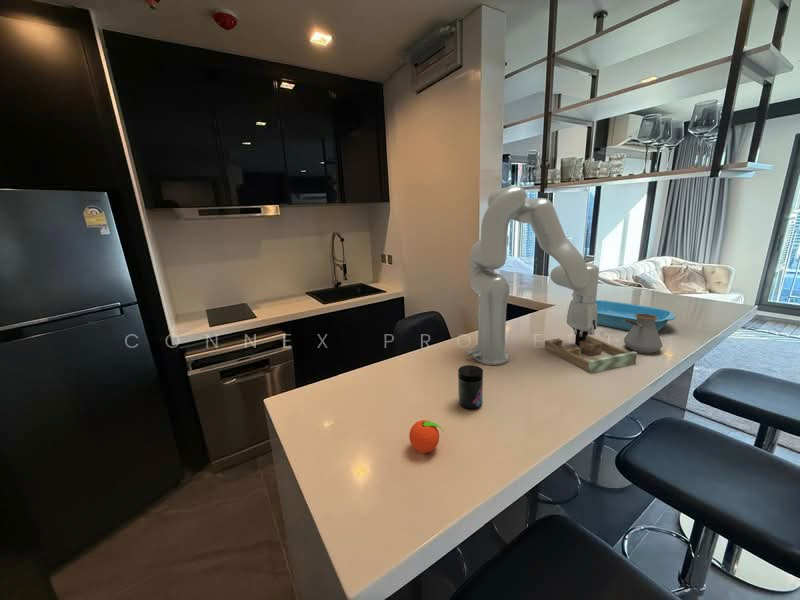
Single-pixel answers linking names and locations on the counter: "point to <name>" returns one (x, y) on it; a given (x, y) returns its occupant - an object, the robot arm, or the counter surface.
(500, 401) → the counter surface
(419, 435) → the clementine
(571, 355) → the trap box
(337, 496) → the counter surface
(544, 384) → the counter surface
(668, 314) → the casserole dish
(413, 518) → the counter surface
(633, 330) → the coffee pot
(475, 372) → the supplement container
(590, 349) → the walnut block
